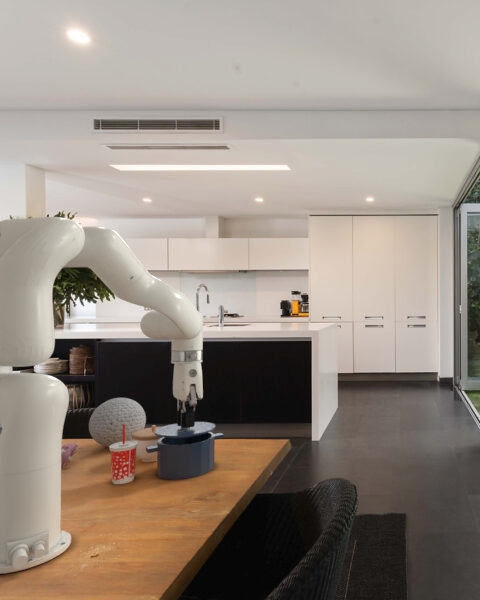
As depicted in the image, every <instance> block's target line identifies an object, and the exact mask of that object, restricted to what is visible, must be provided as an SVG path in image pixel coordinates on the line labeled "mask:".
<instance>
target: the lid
mask: <svg viewBox="0 0 480 600" xmlns="http://www.w3.org/2000/svg"><path fill="white" fill-rule="evenodd" d="M181 413H183V409H182V410H181ZM159 427H160V428H158V429H156V430H155V431H154V434H155V435H156V436H159V437H166V438H185V437H193V436H197V435H201V434H205V433H208V432H212V431H214V430H216V424H215V423H213V422H208V421H195V425H194V427H189V428H181V426H178V425H177V423H173V424H168V425H164V426H159Z"/></svg>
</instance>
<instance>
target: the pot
mask: <svg viewBox="0 0 480 600" xmlns="http://www.w3.org/2000/svg"><path fill="white" fill-rule="evenodd" d="M222 439H225V434H224V433H222V432H218V433H213V432H212V431H211V432H208V433H205V434H201V435H197V436H193V437H185V438H166V437H162V438H160V439H159V440H158V442H157V445H155V446H149V447H146V452H148V453H152V452H157V461H156V474H157V476H158V477H159V478H161V479H164V480H174V481H175V480H186V479H187V480H188V479H192V478H196V477H197V478H198V477H200V476H203V475H206V474H207V473H210V472H212V471H213V470H214V468H215V464H216V463H215V462H216V461H215V459H216V458H215V457H216V455H215V454H216V453H215V452H216V451H215V449H216V448H215V447H216V446H215V445H216V443H215V442H216V440H217V441H218V440H222Z"/></svg>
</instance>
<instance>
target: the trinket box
mask: <svg viewBox="0 0 480 600" xmlns="http://www.w3.org/2000/svg"><path fill="white" fill-rule="evenodd" d="M160 427H161V426H157V425H155V424H153V425H151V427H144V429H141V430H138V431H136V432H134V433H133V434H132V441H136V442H138V444H137V445H138V446H137V447H136V457H137V458H138V459H140V461H141V462H142V463H143V462H144V463H154V462H157V452H152V453H148V452H146V447H149V446H155V445H157V442H158V440H159V439H160V438H162V437H159V436H156V435H155V434H154V431H155V430H156V429H158V428H160Z"/></svg>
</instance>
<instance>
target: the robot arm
mask: <svg viewBox="0 0 480 600" xmlns="http://www.w3.org/2000/svg"><path fill="white" fill-rule="evenodd" d="M63 268H89V269H90V270H91V271H92V272H93V273H94V274H95V275H96V276H97V277H98V278H99V279H100V280H101V282H103V284H104V285H105V286H106V287H107V288H108V289H109V290H110V291H111V292H112V294H113V295H114V296H115V297H117V298H118V299H120V300H121V301H124V302H127V303H129V304H133V305H135V306H140V307H144V308H147V309H149V310H151V311H148V312H147V313H145V314H144V315H143V316H142V317H141V320H140V325H139V327H140V331H141V332H142V334H143V335H144V336H145V337H147V338H150V339H152V340H164V341H165V340H167V341H168V340H171V349H170V351H171V352H170V353H171V354H170V355H171V357H170V359H171V360H170V363H171V364H174V365H173V376H172V377H173V378H172V396H173V397H174V398H175V399H176V400H177V407H176V410H177V411H176V412H177V413H176V424H177V425H178V426H181V428H189V427H194V425H195V422H196V421H195V420H196V415H195V414H196V406H197V405H198V402H197V400H198V401H201V400H202V399H203V397H204V389H203V387H204V386H203V369H202V368H203V367H202V363H203V352H204V351H203V349H204V348H203V345H204V344H203V343H204V315H203V313H202V312H201V311H199V310H198V309H197V308H196V307H195V304H193V302H192V301H191V300H190V299H189V297H188V296H187V295H185V294H184V293H183V292H181V291H180V290H179V289H177V288H175V287H174V286H172V285H171V284H169V283H168V282H165V281H164V280H162V279H160V278H158V277H156V276H154V275H152V274H151V272H149V270H148V269H147V268H146V267H145V265H144V264H143V263H142V262H141V261H140V259H139V258H138V257H137V256H136V254H135V253H134V251H133V250H132V249H131V248H130V247H129V245H128V244H127V243H126V242H125V240H124V239H123V238H122V236H121V235H120V234H119V233H118V232H117V231H115V230H114V229H112V228H110V227H107V226H82V225H80V224H79V223H78V222H77V221H75V220H73V219H71V218H66V217H61V216H60V217H59V216H40V217H27V218H24V217H23V218H10V219H3V220H0V428H1V432H0V575H1V574H10V573H15V572H20V571H23V570H24V571H25V570H27V569H30V568H33V567H37V566H39V565H42V564H44V563H47V562H49V561H51V560H53V559H54V558H56V557H58V556H60V555H61V554H62V553H64V552H65V551H66V550H67V549H68V548H69V547H70V545H71V543H72V535H71V533H70V532H67V531H66V530H63V529H61V525H62V524H61V522H62V518H61V517H62V468H61V448H62V446H63V445H62V444H63V432H64V431H63V430H64V425H65V421H66V416H67V413H68V409H69V403H70V395H69V390H68V388H67V386H66V385H65V383H64V382H63V381H61V380H60V379H58V378H57V377H55V376H53V375H49V374H44V373H35V372H34V373H33V372H13V370H14V369H13V367H15V368H18V367H19V368H20V367H32V366H37V365H41V364H43V363H45V362H46V361H48V360H49V359H50V358H51V356H52V355H53V353H54V351H55V345H56V332H55V318H54V305H53V289H54V284H55V280H56V278H57V276H58V275H59V273H60V272H61V271H62V269H63ZM182 409H183V413H181V410H182Z"/></svg>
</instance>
